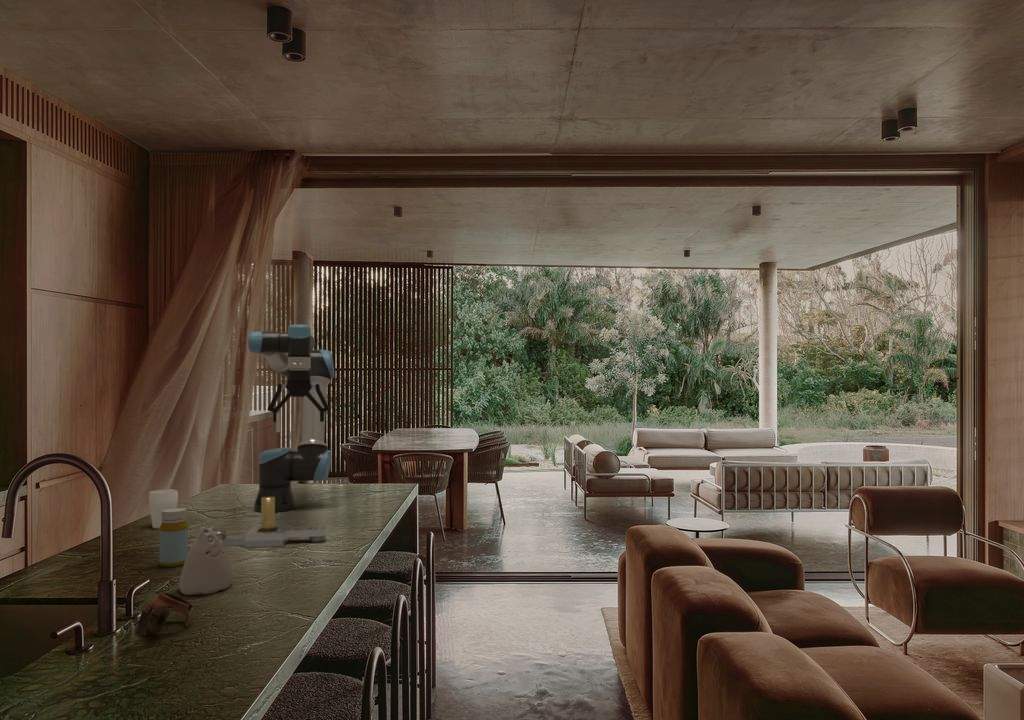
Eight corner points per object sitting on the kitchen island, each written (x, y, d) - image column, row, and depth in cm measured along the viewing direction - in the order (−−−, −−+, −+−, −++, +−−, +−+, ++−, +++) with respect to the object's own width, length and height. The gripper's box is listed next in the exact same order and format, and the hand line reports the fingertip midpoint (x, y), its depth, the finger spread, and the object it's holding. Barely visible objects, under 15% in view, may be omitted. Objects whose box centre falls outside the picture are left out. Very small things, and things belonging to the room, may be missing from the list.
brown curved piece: (138, 626, 145) (160, 588, 148) (180, 643, 147) (201, 605, 150) (123, 631, 134) (147, 590, 137) (169, 650, 135) (191, 609, 138)
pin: (262, 541, 216) (262, 496, 216) (275, 540, 216) (276, 496, 216) (259, 544, 212) (260, 498, 212) (273, 544, 212) (273, 498, 212)
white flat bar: (213, 540, 217) (213, 527, 217) (327, 536, 222) (327, 524, 222) (203, 549, 206) (203, 535, 206) (323, 545, 211) (323, 531, 211)
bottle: (193, 561, 192) (193, 508, 193) (173, 568, 186) (174, 513, 186) (173, 559, 195) (174, 506, 195) (153, 566, 188) (154, 511, 188)
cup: (183, 523, 240) (183, 489, 240) (167, 529, 231) (168, 494, 231) (159, 523, 241) (159, 489, 241) (142, 529, 232) (143, 493, 232)
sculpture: (227, 594, 165) (227, 531, 165) (173, 598, 162) (174, 534, 162) (236, 578, 177) (236, 520, 177) (186, 581, 175) (187, 522, 175)
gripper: (258, 369, 230) (258, 433, 230) (335, 369, 234) (334, 432, 233) (263, 369, 237) (263, 431, 237) (337, 369, 241) (337, 430, 241)
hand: (298, 431), depth 235 cm, fingers open, 13 cm apart
